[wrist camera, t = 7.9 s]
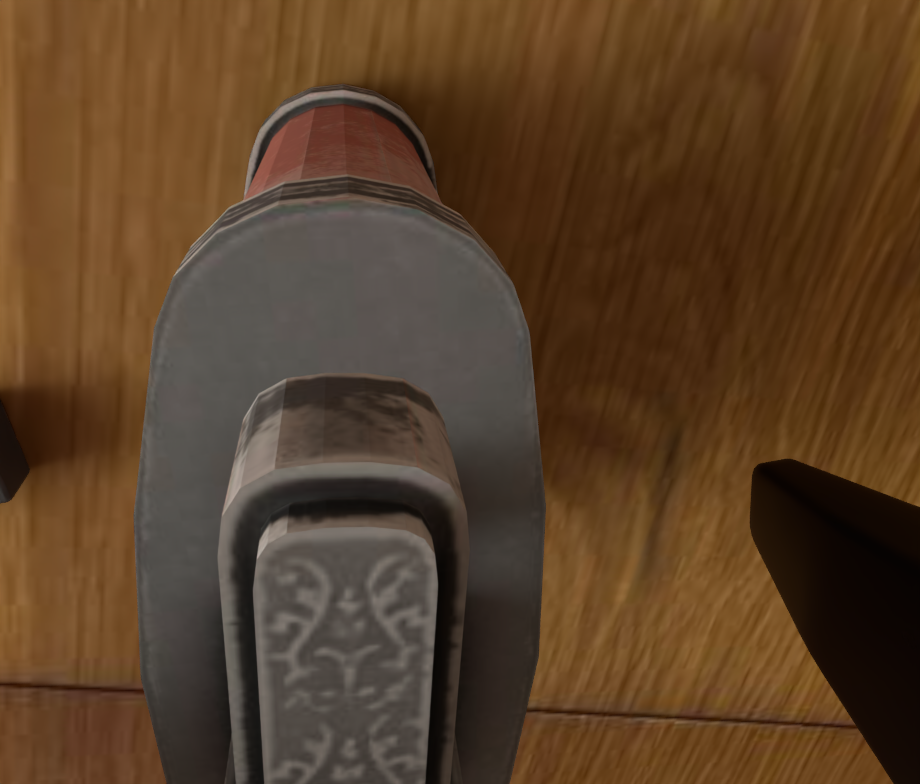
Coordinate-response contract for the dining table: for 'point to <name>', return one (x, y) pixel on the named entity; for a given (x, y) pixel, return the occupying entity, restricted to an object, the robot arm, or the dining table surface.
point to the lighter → (339, 475)
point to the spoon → (10, 460)
